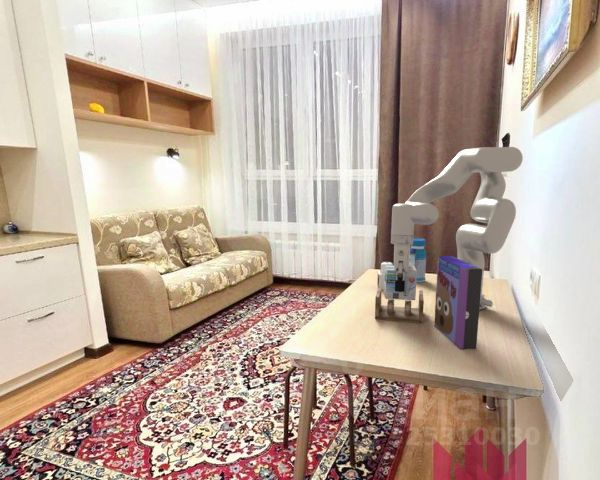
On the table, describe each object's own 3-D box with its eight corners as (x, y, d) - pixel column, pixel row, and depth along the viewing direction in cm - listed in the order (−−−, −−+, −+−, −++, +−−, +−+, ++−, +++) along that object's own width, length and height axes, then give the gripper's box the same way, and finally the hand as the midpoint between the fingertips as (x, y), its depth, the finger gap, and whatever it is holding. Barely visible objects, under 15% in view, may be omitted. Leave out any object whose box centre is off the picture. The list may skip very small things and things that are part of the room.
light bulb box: (385, 299, 133) (386, 269, 131) (383, 293, 140) (384, 265, 138) (416, 300, 132) (417, 270, 130) (413, 294, 138) (414, 265, 137)
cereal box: (434, 326, 127) (438, 255, 123) (447, 325, 127) (452, 255, 123) (460, 349, 110) (466, 268, 106) (476, 348, 110) (482, 268, 106)
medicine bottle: (377, 285, 174) (378, 259, 172) (393, 286, 173) (394, 260, 171) (378, 290, 167) (379, 263, 165) (394, 290, 166) (395, 264, 164)
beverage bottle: (422, 283, 176) (425, 241, 173) (404, 281, 180) (406, 239, 177) (427, 279, 183) (429, 238, 180) (409, 277, 188) (411, 237, 184)
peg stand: (422, 323, 129) (423, 300, 128) (374, 318, 133) (375, 297, 132) (421, 311, 140) (422, 290, 139) (377, 307, 145) (378, 287, 143)
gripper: (413, 244, 123) (410, 296, 126) (413, 235, 139) (410, 282, 142) (389, 242, 125) (387, 294, 128) (392, 235, 141) (390, 280, 144)
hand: (399, 287), depth 135 cm, fingers closed on light bulb box, 7 cm apart
